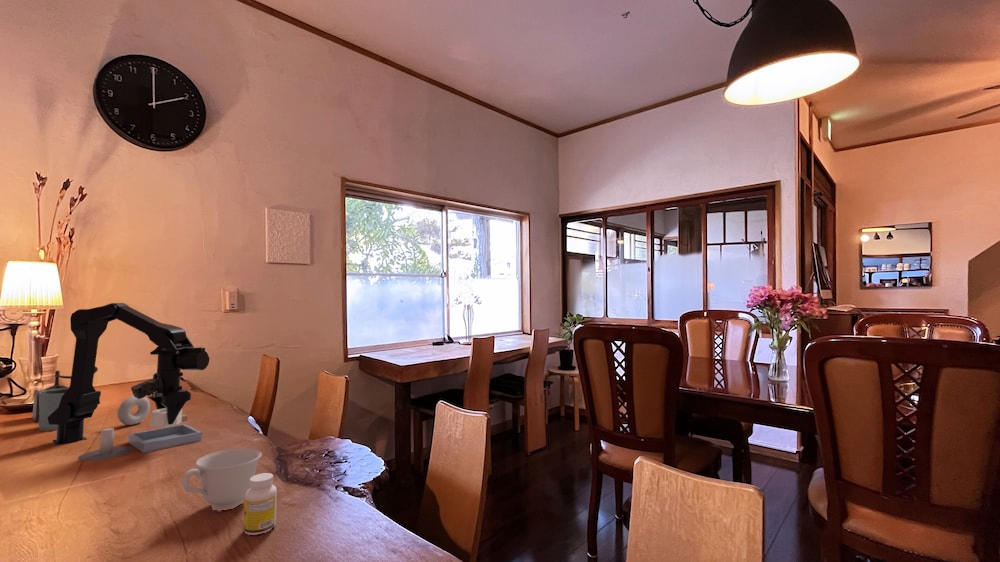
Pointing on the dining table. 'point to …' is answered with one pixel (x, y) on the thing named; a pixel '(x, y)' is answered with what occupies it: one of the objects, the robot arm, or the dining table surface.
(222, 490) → the teacup
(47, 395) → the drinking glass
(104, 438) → the stake
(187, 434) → the tray
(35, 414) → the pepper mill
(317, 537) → the dining table surface
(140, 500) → the dining table surface
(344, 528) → the dining table surface
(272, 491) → the supplement bottle
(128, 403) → the donut
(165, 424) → the ring
